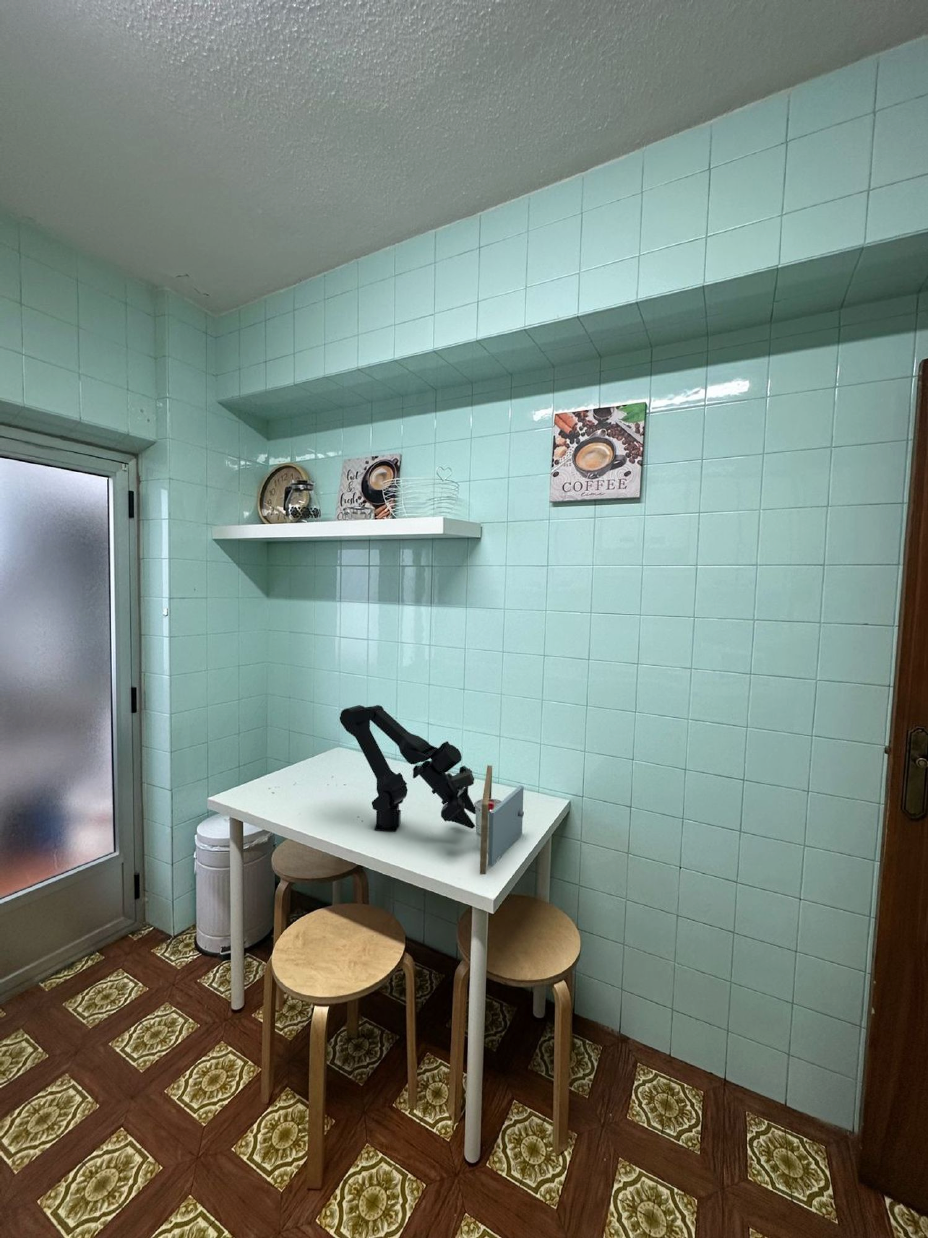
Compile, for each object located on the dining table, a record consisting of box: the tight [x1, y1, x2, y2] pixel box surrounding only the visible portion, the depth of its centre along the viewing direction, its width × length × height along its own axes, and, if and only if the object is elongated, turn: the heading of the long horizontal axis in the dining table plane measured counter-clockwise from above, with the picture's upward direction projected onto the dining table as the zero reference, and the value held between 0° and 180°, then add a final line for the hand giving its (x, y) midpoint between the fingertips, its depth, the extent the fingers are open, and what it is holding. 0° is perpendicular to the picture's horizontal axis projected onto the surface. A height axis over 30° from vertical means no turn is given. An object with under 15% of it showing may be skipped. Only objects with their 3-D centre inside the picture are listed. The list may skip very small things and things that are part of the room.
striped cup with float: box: [473, 798, 503, 853], centre depth 142 cm, size 10×8×12 cm
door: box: [487, 785, 525, 867], centre depth 141 cm, size 2×21×14 cm, turn 152°
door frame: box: [479, 764, 493, 875], centre depth 142 cm, size 2×29×18 cm, turn 175°
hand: (475, 820), depth 144 cm, fingers open, 9 cm apart
